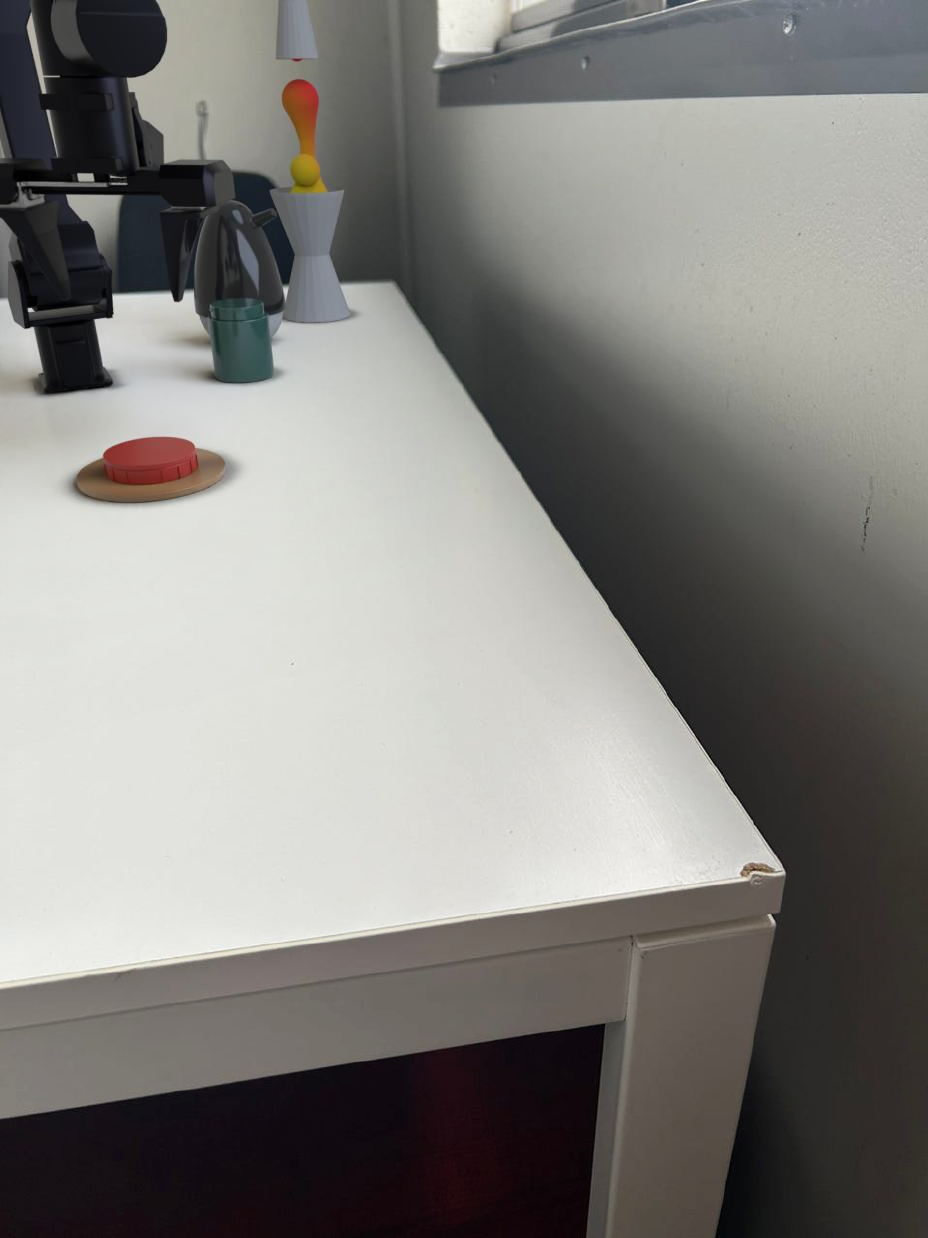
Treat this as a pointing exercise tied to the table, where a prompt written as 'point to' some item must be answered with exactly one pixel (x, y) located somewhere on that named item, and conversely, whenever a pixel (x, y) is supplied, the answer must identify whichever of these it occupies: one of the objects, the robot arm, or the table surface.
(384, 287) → the table surface
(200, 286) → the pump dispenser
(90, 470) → the coaster
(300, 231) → the lava lamp
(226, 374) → the jar
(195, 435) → the table surface
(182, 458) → the jar lid
